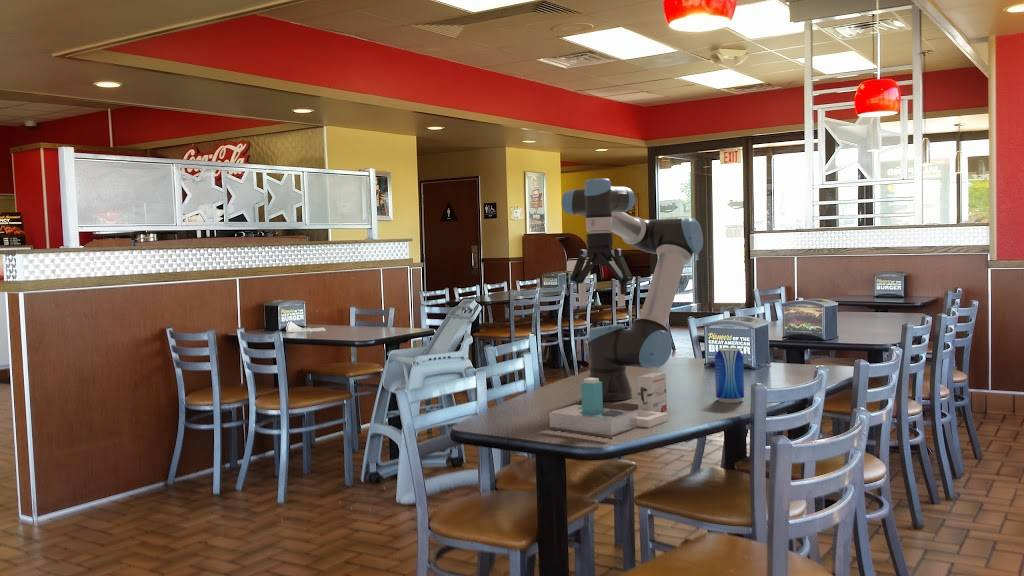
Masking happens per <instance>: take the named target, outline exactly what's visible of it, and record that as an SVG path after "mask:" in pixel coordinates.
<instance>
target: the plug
mask: <svg viewBox="0 0 1024 576" xmlns="http://www.w3.org/2000/svg"><path fill="white" fill-rule="evenodd" d="M583 380H584V381H583V382H580V388H581V389H580V390H581V391H580V392H581V405H582V413H584V414H592V415H596V414H600V413H603V408H604V403H603V402H604V401H603V395H602V382H599V378H589V377H587V378H584V379H583Z"/></svg>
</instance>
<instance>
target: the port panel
mask: <svg viewBox="0 0 1024 576" xmlns="http://www.w3.org/2000/svg"><path fill="white" fill-rule="evenodd" d="M633 411H634V410H624V409H614V408H606V407H603V413H600V414H596V415H592V414H584V413H582V404H574V405H570V406H567V407H563V408H560V409H555V410H553V411H549V412H548V413H549V428H550V429H549V430H553V431H552V432H557V431H561V432H560V433H564V432H567V431H566V430H569V432H570V433H574V432H572V431H576V433H577V434H581V433H580V432H583V433H582V434H583V435H582V436H584V435H588V434H589V435H590V436H589V437H591V436H596V437H595V438H598V437H602V435H603V437H604V438H603V439H605V438H610V439H609V440H611V439H612V437H607V436H614V435H615V436H616V435H617V434H621V433H623V432H626V431H630V430H632V429H633V430H634V429H635V428H638V426H637V412H633ZM551 428H552V429H551ZM553 428H554V429H553ZM560 429H561V430H560ZM570 433H569V434H570ZM586 433H588V434H586ZM577 434H576V435H577ZM592 434H596V435H592ZM612 440H613V439H612Z"/></svg>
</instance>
